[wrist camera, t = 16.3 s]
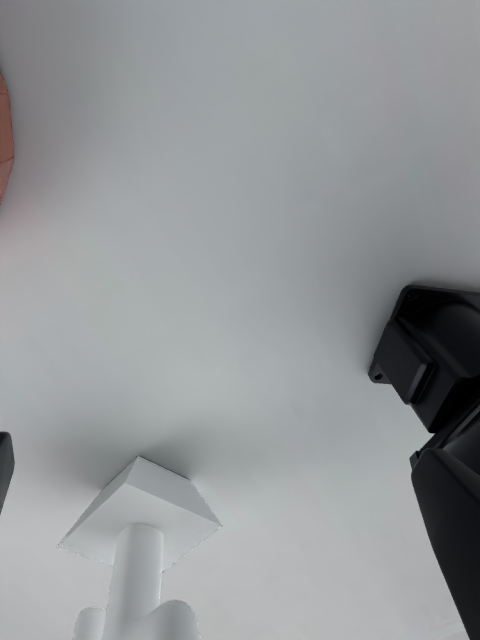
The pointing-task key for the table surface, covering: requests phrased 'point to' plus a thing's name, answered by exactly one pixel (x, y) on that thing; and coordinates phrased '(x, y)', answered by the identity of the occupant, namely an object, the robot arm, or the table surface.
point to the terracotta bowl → (5, 139)
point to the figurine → (140, 552)
